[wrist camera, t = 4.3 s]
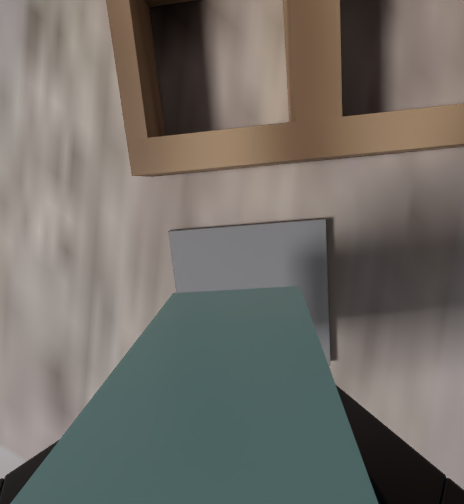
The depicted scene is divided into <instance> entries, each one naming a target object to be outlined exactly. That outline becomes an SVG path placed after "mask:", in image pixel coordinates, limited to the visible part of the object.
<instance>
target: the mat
mask: <svg viewBox="0 0 464 504" xmlns="http://www.w3.org/2000/svg"><path fill="white" fill-rule="evenodd" d="M168 233H169V240H170V248H171V256H172V264H173V271H174V279H175V287H176V293H185V292H202V291H219V290H236V289H253V288H270V287H287V286H300V288H301V291H302V294H303V296H304V299H305V302H306V305H307V307H308V310H309V313H310V316H311V319H312V321H313V324H314V327H315V330H316V332H317V335H318V338H319V341H320V343H321V346H322V349H323V352H324V354H325V357H326V360H327V363H328V366H330V336H329V306H328V275H327V244H326V219H324V218H321V219H309V220H296V221H283V222H270V223H257V224H245V225H232V226H219V227H206V228H193V229H181V230H170V231H168Z"/></svg>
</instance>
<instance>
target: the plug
mask: <svg viewBox="0 0 464 504" xmlns="http://www.w3.org/2000/svg"><path fill="white" fill-rule="evenodd" d="M10 504H378V501H377V498H376V496H375V493H374V490H373V487H372V485H371V482H370V479H369V476H368V473H367V471H366V468H365V465H364V462H363V460H362V457H361V454H360V451H359V449H358V446H357V443H356V440H355V437H354V435H353V432H352V429H351V426H350V424H349V421H348V418H347V415H346V413H345V410H344V407H343V404H342V402H341V399H340V396H339V393H338V390H337V388H336V385H335V382H334V379H333V377H332V374H331V371H330V368H329V366H328V363H327V360H326V357H325V354H324V352H323V349H322V346H321V343H320V341H319V338H318V335H317V332H316V330H315V327H314V324H313V321H312V319H311V316H310V313H309V310H308V307H307V305H306V302H305V299H304V296H303V294H302V291H301V288H300V286H287V287H270V288H253V289H236V290H219V291H202V292H185V293H173V294H172V296H171V297H170V298H169V299H168V301H167V302H166V303H165V305H164V306H163V307H162V308H161V310H160V311H159V312H158V314H157V315H156V316H155V318H154V319H153V320H152V321H151V323H150V324H149V325H148V327H147V328H146V329H145V330H144V332H143V333H142V334H141V336H140V337H139V338H138V339H137V341H136V342H135V343H134V345H133V346H132V347H131V348H130V350H129V351H128V352H127V354H126V355H125V356H124V358H123V359H122V360H121V361H120V363H119V364H118V365H117V367H116V368H115V369H114V370H113V372H112V373H111V374H110V376H109V377H108V378H107V379H106V381H105V382H104V383H103V385H102V386H101V387H100V389H99V390H98V391H97V392H96V394H95V395H94V396H93V398H92V399H91V400H90V401H89V403H88V404H87V405H86V407H85V408H84V409H83V410H82V412H81V413H80V414H79V416H78V417H77V418H76V419H75V421H74V422H73V423H72V425H71V426H70V427H69V429H68V430H67V431H66V432H65V434H64V435H63V436H62V438H61V439H60V440H59V441H58V443H57V444H56V445H55V447H54V448H53V449H52V450H51V452H50V453H49V454H48V456H47V457H46V458H45V459H44V461H43V462H42V463H41V465H40V466H39V467H38V469H37V470H36V471H35V472H34V474H33V475H32V476H31V478H30V479H29V480H28V481H27V483H26V484H25V485H24V487H23V488H22V489H21V490H20V492H19V493H18V494H17V496H16V497H15V498H14V500H13V501H12V502H11V503H10Z"/></svg>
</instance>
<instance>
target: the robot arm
mask: <svg viewBox="0 0 464 504" xmlns="http://www.w3.org/2000/svg"><path fill="white" fill-rule="evenodd" d="M336 388H337V390H338V393H339V396H340V399H341V402H342V404H343V407H344V410H345V413H346V415H347V418H348V421H349V424H350V426H351V429H352V432H353V435H354V437H355V440H356V443H357V446H358V449H359V451H360V454H361V457H362V460H363V462H364V465H365V468H366V471H367V473H368V476H369V479H370V482H371V485H372V487H373V490H374V493H375V496H376V498H377V501H378V504H464V490H463V489H462V488H461V487H459V486H458V485H457V484H456V483H455V482H453V481H452V480H451V479H449V478H446V476H445V474H443V473H442V472H441V471H440V470H439V469H437V468H436V467H435V466H434V465H432V464H431V463H430V462H429V461H428V460H426V459H425V458H424V457H423V456H422V455H420V454H419V453H418V452H417V451H415V450H414V449H413V448H412V447H411V446H409V445H408V444H407V443H406V442H405V441H403V440H402V439H401V438H400V437H398V436H397V435H396V434H395V433H394V432H392V431H391V430H390V429H389V428H388V427H386V426H385V425H384V424H383V423H381V422H380V421H379V420H378V419H377V418H375V417H374V416H373V415H372V414H371V413H369V412H368V411H367V410H366V409H364V408H363V407H362V406H361V405H360V404H358V403H357V402H356V401H355V400H354V399H352V398H351V397H350V396H349V395H347V394H346V393H345V392H344V391H343V390H341V389H340V388H339V387H338V386H337V385H336ZM58 441H59V440H58ZM58 441H57V442H55V443H54V444H52V445H51V446H49V447H48V448H46V449H45V450H43V451H42V452H40V453H39V454H37V455H36V456H34V457H33V458H31V459H30V460H28V461H27V462H25V463H24V464H22V465H21V466H19V467H18V468H16V469H15V470H13V471H12V472H10V473H9V474H7V475H6V476H5V478H4V479H3V478H2V479H0V504H10V503H11V502H12V501H13V500H14V498H15V497H16V496H17V494H18V493H19V492H20V490H21V489H22V488H23V487H24V485H25V484H26V483H27V481H28V480H29V479H30V478H31V476H32V475H33V474H34V472H35V471H36V470H37V469H38V467H39V466H40V465H41V463H42V462H43V461H44V459H45V458H46V457H47V456H48V454H49V453H50V452H51V450H52V449H53V448H54V447H55V445H56V444H57V443H58Z"/></svg>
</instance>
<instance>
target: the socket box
mask: <svg viewBox="0 0 464 504" xmlns="http://www.w3.org/2000/svg"><path fill="white" fill-rule="evenodd" d="M189 1H196V0H106V3H107V9H108V16H109V23H110V30H111V37H112V43H113V50H114V57H115V64H116V71H117V77H118V84H119V91H120V98H121V105H122V111H123V118H124V125H125V132H126V139H127V145H128V152H129V159H130V166H131V173H132V176H163V175H174V174H184V173H195V172H205V171H215V170H226V169H236V168H247V167H257V166H268V165H278V164H288V163H299V162H309V161H320V160H330V159H341V158H351V157H361V156H372V155H382V154H393V153H403V152H414V151H424V150H434V149H445V148H455V147H464V104H455V105H445V106H436V107H427V108H418V109H408V110H399V111H390V112H381V113H372V114H362V115H353V116H344V117H342V80H341V32H340V0H283V9H284V28H285V48H286V67H287V87H288V106H289V123H280V124H270V125H261V126H252V127H243V128H233V129H224V130H215V131H206V132H197V133H187V134H178V135H169V136H165V129H164V121H163V113H162V105H161V97H160V89H159V81H158V73H157V65H156V57H155V49H154V41H153V33H152V25H151V17H150V9H149V7H156V6H162V5H169V4H176V3H182V2H189Z"/></svg>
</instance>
